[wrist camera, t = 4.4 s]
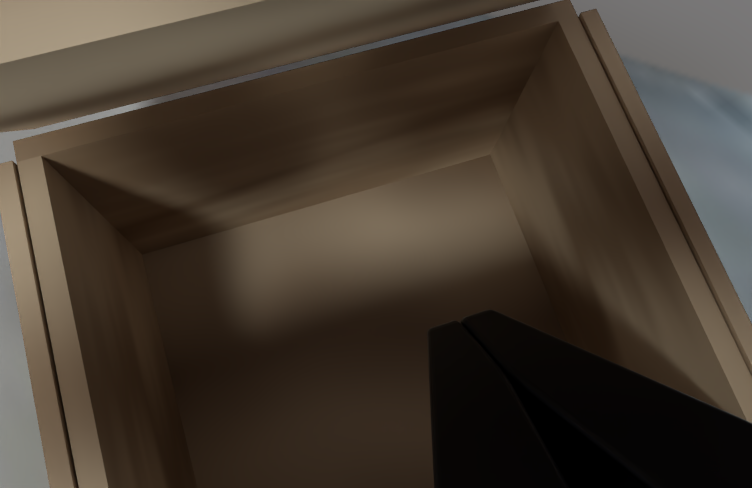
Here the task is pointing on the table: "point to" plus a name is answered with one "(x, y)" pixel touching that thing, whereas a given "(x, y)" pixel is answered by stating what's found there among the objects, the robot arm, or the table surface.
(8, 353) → the table surface
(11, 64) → the carton flap
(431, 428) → the robot arm
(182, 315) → the carton
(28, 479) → the table surface
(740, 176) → the table surface
